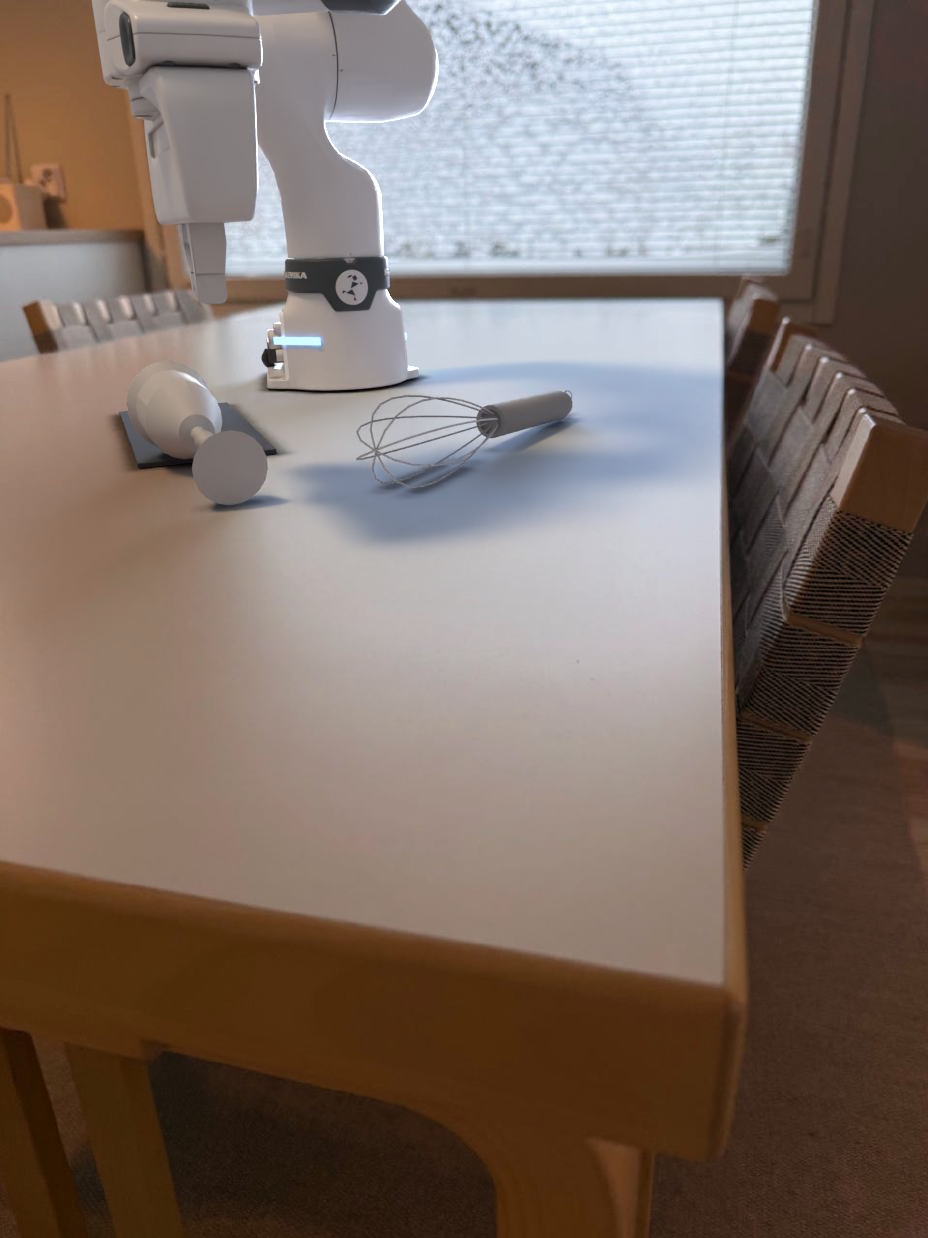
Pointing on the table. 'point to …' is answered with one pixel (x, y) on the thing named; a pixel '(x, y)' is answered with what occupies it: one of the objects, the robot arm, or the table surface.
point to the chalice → (195, 431)
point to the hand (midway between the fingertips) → (210, 302)
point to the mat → (155, 457)
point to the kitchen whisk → (480, 424)
